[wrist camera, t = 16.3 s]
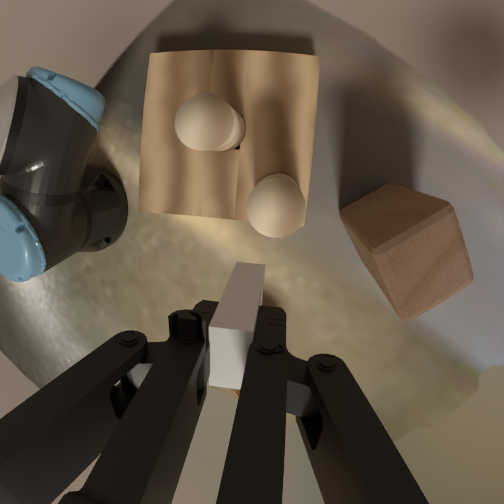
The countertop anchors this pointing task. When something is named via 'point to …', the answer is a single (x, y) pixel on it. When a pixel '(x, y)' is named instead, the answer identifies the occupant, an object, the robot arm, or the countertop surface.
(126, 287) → the countertop surface
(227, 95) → the seat board
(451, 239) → the block
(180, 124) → the peg
